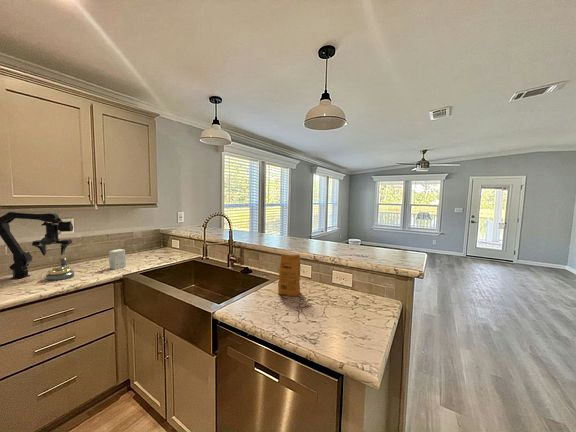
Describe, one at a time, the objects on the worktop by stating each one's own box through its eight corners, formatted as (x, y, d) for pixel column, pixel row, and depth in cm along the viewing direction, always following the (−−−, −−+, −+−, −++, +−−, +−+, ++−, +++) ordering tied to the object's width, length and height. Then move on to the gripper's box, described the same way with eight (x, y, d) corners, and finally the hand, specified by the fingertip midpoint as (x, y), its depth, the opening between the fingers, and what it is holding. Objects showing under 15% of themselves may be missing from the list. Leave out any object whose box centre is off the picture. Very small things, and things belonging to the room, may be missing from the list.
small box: (120, 265, 184) (119, 248, 183) (126, 266, 182) (125, 249, 181) (109, 268, 177) (108, 250, 176) (115, 269, 174) (114, 251, 174)
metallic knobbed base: (70, 273, 153) (69, 262, 152) (46, 276, 147) (45, 265, 146) (74, 267, 168) (74, 257, 167) (53, 269, 162) (52, 259, 161)
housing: (36, 281, 148) (36, 276, 148) (63, 272, 166) (63, 268, 166) (61, 281, 148) (60, 276, 148) (85, 272, 166) (85, 268, 166)
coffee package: (281, 288, 141) (282, 251, 140) (302, 291, 137) (302, 253, 136) (275, 294, 132) (275, 255, 130) (297, 297, 128) (297, 257, 126)
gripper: (25, 234, 149) (26, 259, 150) (63, 233, 155) (64, 257, 156) (36, 231, 160) (38, 255, 161) (71, 231, 166) (72, 253, 167)
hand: (53, 255), depth 161 cm, fingers open, 9 cm apart
